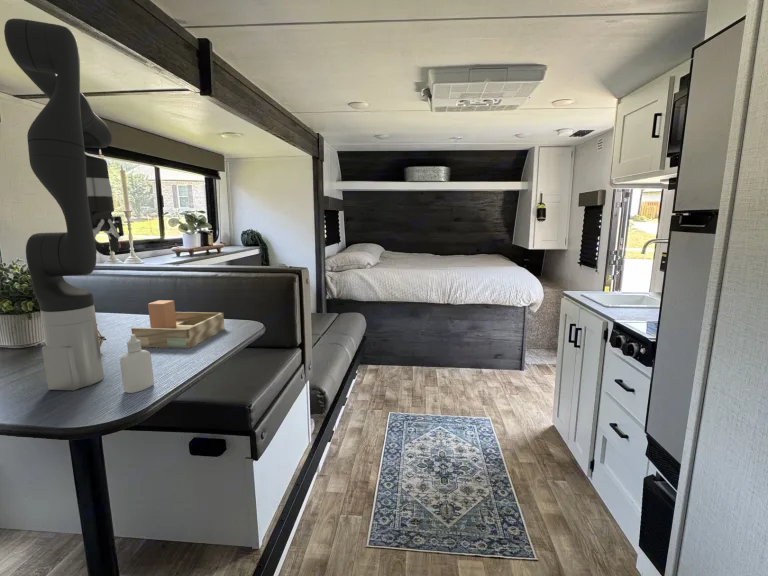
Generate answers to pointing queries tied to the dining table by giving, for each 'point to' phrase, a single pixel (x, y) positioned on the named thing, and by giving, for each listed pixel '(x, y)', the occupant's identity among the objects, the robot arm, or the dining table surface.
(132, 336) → the eye dropper bottle
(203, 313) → the wooden tray
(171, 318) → the terracotta block
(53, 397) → the dining table surface
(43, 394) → the dining table surface
